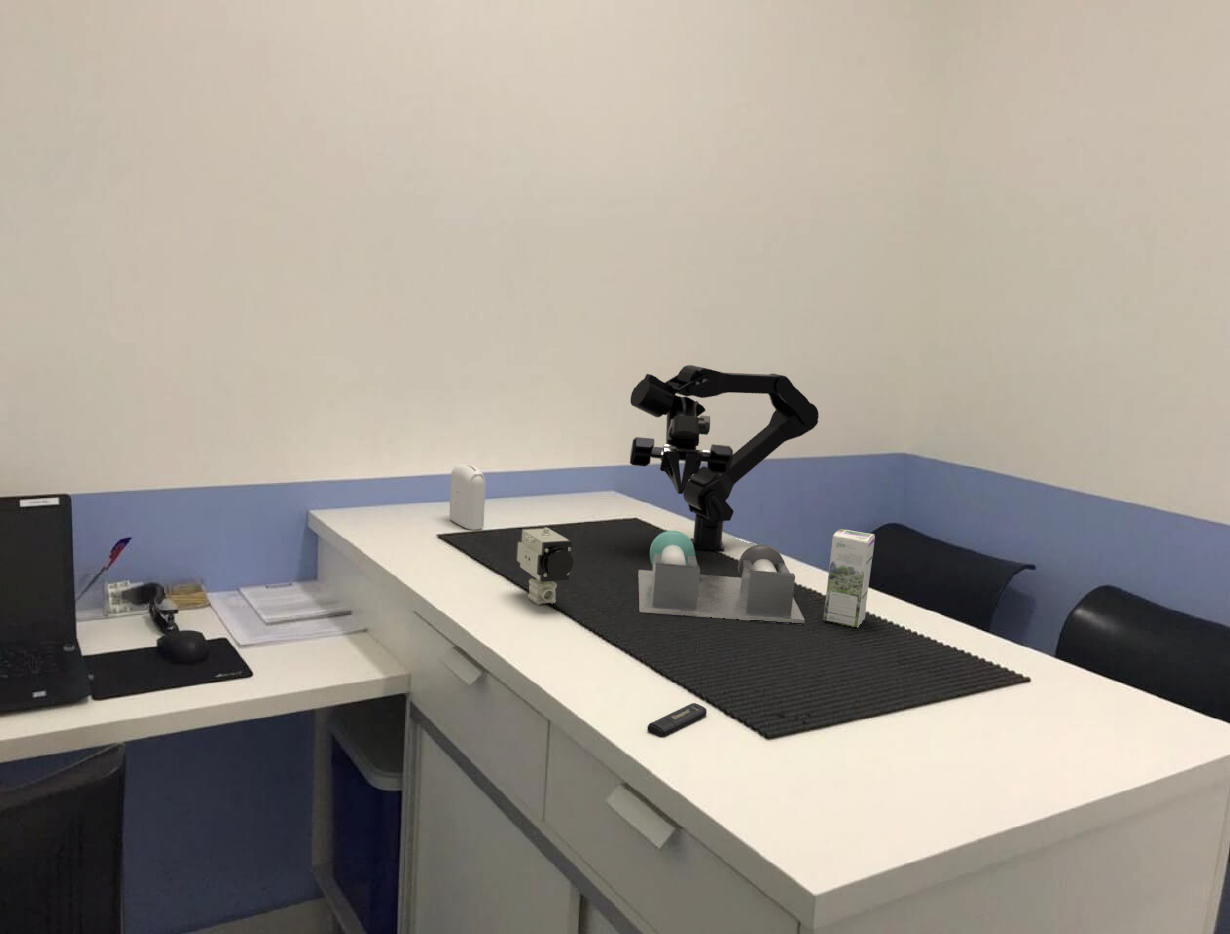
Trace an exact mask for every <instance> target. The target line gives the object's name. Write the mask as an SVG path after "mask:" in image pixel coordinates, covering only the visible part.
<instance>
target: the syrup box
mask: <svg viewBox="0 0 1230 934" xmlns="http://www.w3.org/2000/svg"><path fill="white" fill-rule="evenodd" d="M875 538H876V537H875V534H874V533H867V532H861V531H856V530H849V529H843V528H839V529H838V530H837V531H835V533H834V534H833V535H832V540H831V549H830V550H831V551H830V558H829V568H828V577H827V586H826V595H825V603H824V610H823V611H824V612H823V619H822V620H826V621H830V622H833V623H832V624H835V623H838V624H837V625H839V624H841V625H840V626H844V625H846V626H845V627H849V626H851V627H850V628H854V627H857V628H856V629H858V628H859V627H860V626H861V625H862V624H863V622H864V621H865V618H866V612H867V611H866V610H867V601H868V592H869V585H870V584H869V583H870V576H871V571H872V569H871V568H872V564H873V563H872V562H873V561H872V560H873V557H874V556H873V554H874V546H875ZM863 620H864V621H863ZM862 621H863V622H862ZM830 622H829V623H830ZM860 624H861V625H860ZM859 625H860V626H859Z"/></svg>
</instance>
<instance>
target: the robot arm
mask: <svg viewBox="0 0 1230 934" xmlns="http://www.w3.org/2000/svg"><path fill="white" fill-rule="evenodd" d="M728 393H734V394H735V393H738V394H759V395H760V394H761V395H763V394H765V395H766V394H767V395H768V396H769V399H770V403H771V405H772V407H773V408H774V409H775V411H774V412H773V413H772V415H771V418H770V420H769V423H768V425H767V426H765V427H764V428H763V429H762V430H760V431H759V432H758V433H756V435H755V436H753V437H752V438H751V439H749V441H747V442H746V443H745V444H744V445H742V446H741V447H740V448H739V449H738V450H737V451H735V452H734V450H733V449H732V447H731V446H730V445H724V444H714V443H712V444H711V446H710V449H709V450H702V449H697V447H699V445H700V435H705V436H707V435H709V434H710V433H709V432H710V430H711V416H709V415H702V414H703V413H704V412H706V408H705V407H704V405H702V404H700V402H699V401H698V400H694V399H693V398H691V397H696V398H700V399H706V398H712V397H717V396H720V395H723V394H728ZM629 401H630V405H631V406H633V407H634V408H637V409H638V410H640V411H642V412H645V413H647V414H648V415H651V416H653V417H655V418H661V417H662V416H666V429H665V430H666V431H665V432H666V434H665V444H663V447H659V446H655V438H650V437H638V436H635V438H633V439H632V443H631V447H630V455H629V464H630V465H631V466H637V467H638V466H639V467H648V466H649V465H650V464H651V461H652V460H651V458H652V459H658V460H659V459H660V460H659V461H660V466H659V470H660V471H661V472H664V473H665V474H666V475H667V477H668V478H669V479H670V481H671V484H673V488H675V490H676V492H677V495H683V499H684V501H685V503H687V506H688V510H689V512H690V513H693V514H695V517H694V527H693V538H689V539H690V540H691V542H692V544H693V546H694V550H696V549H697V550H710V551H711V550H712V551H725V546H724V544H723V543H724V542H723V541H722V540H723V531H724V522H729V521H731V519H732V518H733V517H732V516H733V514H734V511H735V510H733V508H732V507H731V506H730V504H729V503H728V502H727V500H728V499H729V498H730V496H731V492H732V490H733V487H734V486H735V485H736V484H737V483H738V482H739V481H740V480H741V479H743V478H744V477H745V476H746V475H747V474H748V473H750V472H751V471H752V470H753V469H754V468H755V467H757V466H758V465H759V464H760V463H761V462H763V460H765V459H766V458H767V457H768V456H770V455H771V454H772V453H773V452H775V450H777V449H778V448H779V447H780V446H781V445H783V444H784V443H785V442H787V441H791V440H794V439H797V438H800V437H802V436H803V435H805V434H807V433H808V432H810V431H812V430H814V429H815V427H816V426H817V425H818V423H819V418H820V417H819V411H818V407H817V406H816V405H815V404H813V403H812V402H810V401H809V399H808V398H807V397H806V395H804V394H803V393H802V392H801V391H800V390H799V389H798V388H796V387H795V385H794V384H793V383H792V381H791V380H790V379H789V378H788V376H787V375H783V374H782V375H781V374H777V373H769V374H764V373H763V374H762V373H740V372H739V373H738V372H736V373H735V372H723V371H719V370H718V371H717V370H714V369H711V368H707V367H702V366H697V365H691V364H688V365H685V366H683V367H682V368H681V369H680V370H679V373H678V374H677V375H674V376H672V378H670V379H668V380H667V381H662V380H660V379H659V378H658V377H657V376H654V375H653V374H650V373H645V376H644V378H643V379H641V381H639V382H638V383H637V384H636V386H634V387H633V390H632V392H631V395H630V400H629ZM680 461H681V462H684V464H683V468H682V474H681V468H680ZM702 462H704V463H706V466H704V465H702V466H701V464H702Z"/></svg>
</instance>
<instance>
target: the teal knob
mask: <svg viewBox="0 0 1230 934" xmlns="http://www.w3.org/2000/svg"><path fill="white" fill-rule="evenodd" d="M690 539H691V538H689V536H687V535H686V534H685V533H683V532H681V531H678V530H666V531H663V532H661V533H659V534H658V535H656V537H654V539H653V541H652V542H651V545H650V549H649V558H650V564H651V565H652V567H653V559H654V553H655V554H661V558H662V564H675V565H688V556H694V557H696V551H695V550H696V549H695V548H694V546H693V544H692V542H691V540H690Z"/></svg>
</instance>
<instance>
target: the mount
mask: <svg viewBox="0 0 1230 934" xmlns="http://www.w3.org/2000/svg"><path fill="white" fill-rule="evenodd" d="M637 577H638V604H639V613H648V614H658V615H673V616H684V615H685V617H686V616H688V617H696V618H697V617H699V618H710V617H712V618H713V619H723V618H725V619H727V620H736V619H739V621H750V620H764V621H777V622H792V623H794V622H795V623H804V624H805V621H806V619H805V618H804V616H803V613H802V612H801V610H800V608H799V605H798V604H797V603H796V601H795V598H794V592H795V591H794V590H795V584H796V583H795V582H796V574H795V573H792V572H791V571H790V570H789V568H788V566H787V564H786V562H785V563H778V565H777V572H767V571H755V570H754V568H753V566H752V563H751V561H747V560H743V567H742V577H740V576H739V577H737V576H736V577H735V576H727V575H726V576H724V575H723V576H722V575H714V574H713V575H711V574H710V575H709V574H701V568H700V565H698V561H697V557H696V556H695V557H694V556H688V565H675V564H662V558H661V554H655V553H654V559H653V566H652V570H645V569H639V570H638V576H637ZM712 618H711V619H712Z"/></svg>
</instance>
